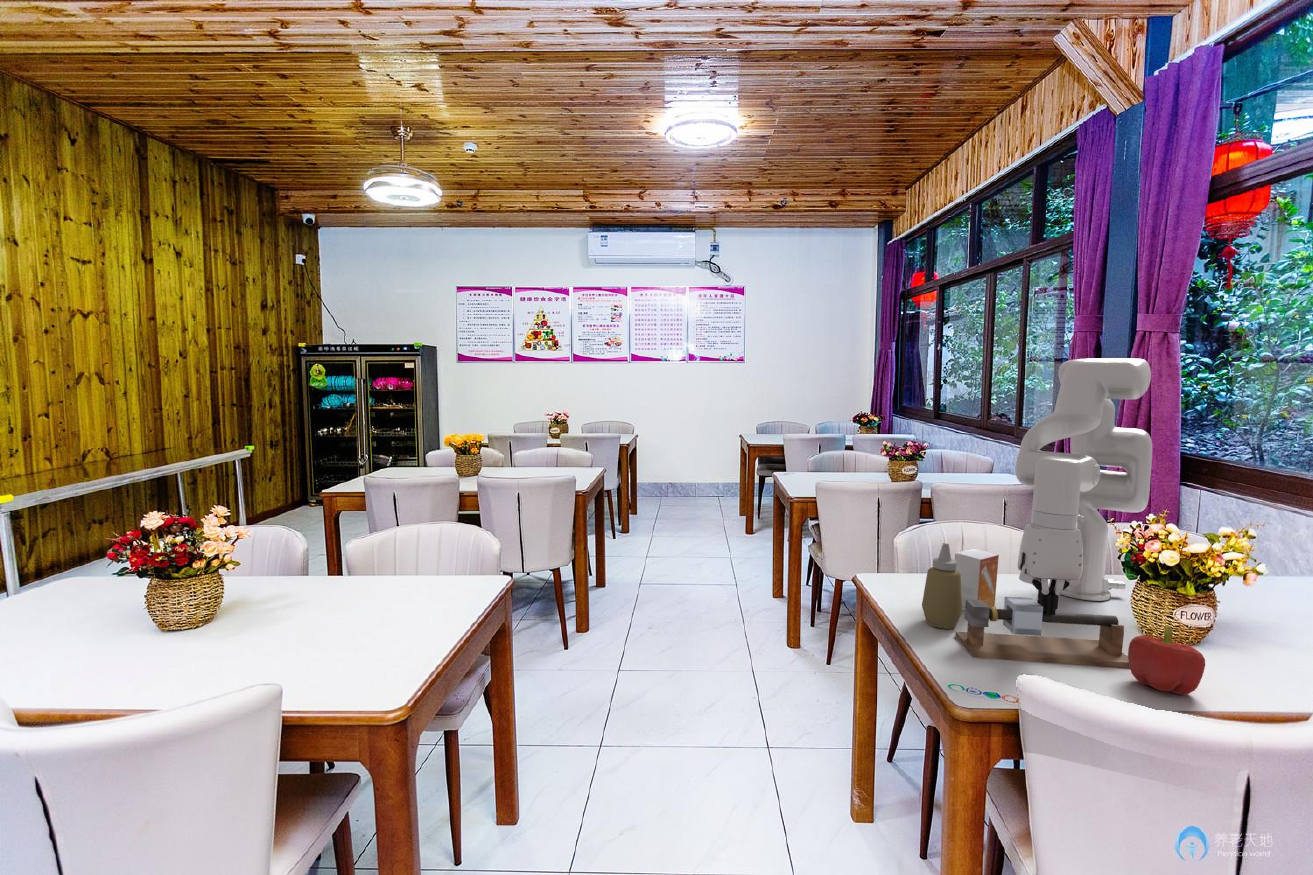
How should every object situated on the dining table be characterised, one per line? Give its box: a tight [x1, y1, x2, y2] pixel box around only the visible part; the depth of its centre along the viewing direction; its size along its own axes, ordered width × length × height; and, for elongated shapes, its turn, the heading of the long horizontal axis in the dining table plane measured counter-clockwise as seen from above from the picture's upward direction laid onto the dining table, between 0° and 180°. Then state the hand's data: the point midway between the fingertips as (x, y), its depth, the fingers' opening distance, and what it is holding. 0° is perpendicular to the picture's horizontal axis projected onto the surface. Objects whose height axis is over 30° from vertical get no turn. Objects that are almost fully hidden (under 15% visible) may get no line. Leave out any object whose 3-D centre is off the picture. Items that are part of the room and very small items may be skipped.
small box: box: [954, 548, 1000, 611], centre depth 145 cm, size 8×6×13 cm
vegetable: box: [1127, 624, 1206, 696], centre depth 108 cm, size 11×10×10 cm
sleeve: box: [1002, 596, 1043, 637], centre depth 122 cm, size 5×5×6 cm
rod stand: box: [955, 599, 1130, 669], centre depth 122 cm, size 29×10×9 cm, turn 83°
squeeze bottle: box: [921, 542, 963, 630], centre depth 134 cm, size 8×8×18 cm
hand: (1046, 612), depth 121 cm, fingers closed
